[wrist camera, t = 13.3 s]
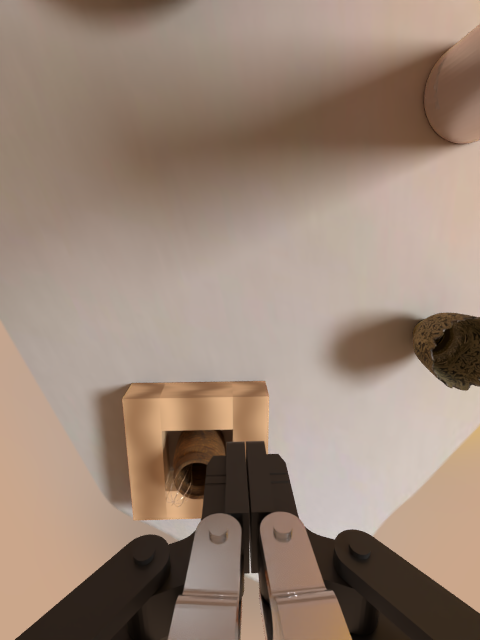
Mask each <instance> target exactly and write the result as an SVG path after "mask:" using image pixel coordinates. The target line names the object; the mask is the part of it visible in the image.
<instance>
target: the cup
mask: <svg viewBox="0 0 480 640" xmlns="http://www.w3.org/2000/svg"><path fill="white" fill-rule="evenodd" d="M412 336H413V348H414V351H415V354H416V355H417V357H418V359H419V360H420V361H421V362H422V364H423V365H424V366H425V367H426V368H427V369H428V370H429V371H430V372H431V373H432V374H433V375H435V376H436V377H437V378H438V379H439V380H440V381H442V382H443V383H444V384H445V385H446V386H448V387H450V388H452V387H455V388H457V389H460V390H468V389H469V388H470V386H471V385H475V386H480V317H474V316H469V315H464V314H458V313H439V314H435V315H432V316H430V317H428V318H426V319H425V320H422V321H420V322H419V323H418V324H417V325H416V326H415V327H414V329H413V333H412Z"/></svg>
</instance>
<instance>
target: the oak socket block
mask: <svg viewBox="0 0 480 640" xmlns="http://www.w3.org/2000/svg"><path fill="white" fill-rule="evenodd" d="M122 403H123V414H124V425H125V435H126V446H127V456H128V467H129V477H130V488H131V498H132V509H133V519H134V520H163V519H196V518H202V508H203V499H190V498H188V499H187V497H185V496H183V495H182V494H181V493H179V492H178V490H177V489H176V487H175V485H173V484H174V482H173V481H174V479H172V478H173V472H174V468H173V460H174V454H175V450H176V445H177V442H178V439H179V436H180V434H181V432H182V431H184V430H220V431H221V432H222V434H223V436H224V439H225V447H226V444H227V442H241V441H245V455H246V441H264V443H265V449H266V454H268V421H269V394H268V390H267V386H266V383H265V381H240V382H178V383H132V384H131V386H130V387H129V389H128V390H127V392H126V394H125V395H124V397H123V398H122ZM171 479H172V480H171ZM170 480H171V481H170ZM169 482H170V483H169ZM172 483H173V484H172ZM168 484H169V485H168ZM167 486H168V487H167ZM171 486H172V488H171ZM166 488H167V490H166ZM170 489H171V490H170ZM169 491H170V492H169ZM177 492H178V494H177ZM168 493H169V494H168ZM166 494H167V495H168V496H166ZM176 494H177V496H176ZM171 495H172V498H171ZM175 496H176V498H175ZM166 497H168V498H169V499H170V500H171V501H170V500H169V499H168V498H167V499H166ZM181 497H182V498H181ZM184 497H185V498H184ZM174 498H175V500H174ZM180 498H181V499H180ZM172 499H173V501H175V503H173V502H172ZM178 499H179V500H178ZM183 499H184V501H183ZM166 500H167V501H166ZM177 500H178V501H177ZM186 500H187V501H186ZM185 501H186V502H185ZM168 502H172V503H173V505H172V503H168ZM182 502H184V503H182ZM177 503H182V504H177ZM174 504H175V505H176V506H180V505H181V506H180V507H176V506H175V505H174ZM171 505H172V506H171Z"/></svg>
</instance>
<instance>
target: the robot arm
mask: <svg viewBox="0 0 480 640" xmlns="http://www.w3.org/2000/svg"><path fill="white" fill-rule="evenodd" d="M424 106H425V112H426V115H427V118H428V121H429V123H430V125H431V126H432V128H433V129H434V131H435V132H436V133H437V134H439V135H440V136H441V137H442V138H444V139H446V140H448V141H450V142H454V143H471V142H475V141H478V140H480V24H479V25H478V26H477V27H476V28H475V29H473V30H472V31H471V32H470V33H468V34H467V35H466V36H465V37H464V38H462V39H461V40H460V41H459V42H458V43H456V44H455V45H454V46H453V47H451V48H450V49H449V50H448V51H447V52H445V53H444V54H443V55H442V57H441V58H440V59H439V60H438V61H437V62H436V64H435V66H434V67H433V69H432V70H431V73H430V75H429V78H428V80H427V83H426V88H425V93H424ZM249 541H250V557H251V573H258V574H259V600H260V608H261V615H262V621H263V627H264V634H265V640H480V613H478V612H477V611H475V610H474V609H472V608H471V607H470V606H468V605H467V604H466V603H464V602H463V601H461V600H460V599H459V598H457V597H456V596H455V595H453V594H452V593H450V592H449V591H447V590H446V589H445V588H443V587H442V586H441V585H439V584H438V583H436V582H435V581H434V580H432V579H431V578H430V577H428V576H427V575H425V574H424V573H423V572H421V571H420V570H418V569H417V568H416V567H414V566H413V565H411V564H410V563H409V562H407V561H406V560H404V559H403V558H402V557H400V556H399V555H397V554H396V553H395V552H393V551H392V550H391V549H389V548H388V547H386V546H385V545H383V544H382V543H381V542H379V541H378V540H377V539H375V538H374V537H372V536H371V535H369V534H367V533H365V532H363V531H359V530H346V531H343V532H341V533H340V534H338V536H337V537H336V539H335V540H334V539H330V538H326V537H323V536H320V535H317V534H315V533H313V532H311V531H310V530H308V529H307V528H306V527H305V526H304V524H303V523H302V521H301V520H300V519H299V517H298V513H297V509H296V505H295V501H294V496H293V492H292V488H291V484H290V479H289V475H288V471H287V467H286V463H285V461H284V460H283V459H282V458H281V457H280V456H279V454H266V449H265V443H264V441H246V455H245V441H241V442H227V444H226V455H219V456H213V457H212V458H211V460H210V461H209V462H208V464H207V469H206V479H205V488H204V498H203V508H202V518H201V522H200V523H199V524H198V526H197V528H196V530H195V532H194V533H192V534H191V535H190V536H189V537H187V538H185V539H183V540H180V541H178V542H175V543H172V544H169V545H168V543H167V542H166V540H165V539H163V538H162V537H160V536H157V535H144V536H140V537H138V538H136V539H134V540H133V541H131V542H130V543H129V544H127V545H126V546H125V547H124V548H123V549H121V550H120V551H119V552H118V553H117V554H116V555H114V556H113V557H112V558H111V559H110V560H108V561H107V562H106V563H105V564H104V565H103V566H101V567H100V568H99V569H98V570H97V571H95V572H94V573H93V574H92V575H91V576H90V577H88V578H87V579H86V580H85V581H84V582H83V583H81V584H80V585H79V586H78V587H77V588H75V589H74V590H73V591H72V592H71V593H69V594H68V595H67V596H66V597H65V598H64V599H63V600H61V601H60V602H59V603H58V604H56V605H55V606H54V607H53V608H52V609H51V610H50V611H48V612H47V613H46V614H45V615H44V616H42V617H41V618H40V619H39V620H38V621H37V622H35V623H34V624H33V625H32V626H31V627H29V628H28V629H27V630H26V631H25V632H23V633H22V634H21V635H20V636H19V637H17V638H16V639H15V640H241V616H242V596H243V593H244V573H249Z"/></svg>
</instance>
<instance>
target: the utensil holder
mask: <svg viewBox="0 0 480 640" xmlns="http://www.w3.org/2000/svg"><path fill="white" fill-rule="evenodd" d="M219 455H226V447H225V439H224V436H223V434H222V432H221V431H220V430H184V431H182V432H181V434H180V436H179V439H178V442H177V445H176V450H175V454H174V460H173V468H174V472H173V478H172V479H174V481H173V482H174V484H173V483H172V484H173V485H175V487H176V489H177V490H178V492H179V493H181V494H182V495H183V496H185V497H187V499H188V498H190V499H203V498H204V488H205V479H206V469H207V464H208V462H209V461H210V460H211V458H212V457H213V456H219ZM172 479H171V480H172ZM171 480H170V481H171ZM169 483H170V482H169ZM168 485H169V484H168ZM167 487H168V486H167ZM171 488H172V486H171ZM166 490H167V488H166ZM170 490H171V489H170ZM169 492H170V491H169ZM178 492H177V494H178ZM168 494H169V493H168ZM177 494H176V496H177ZM166 496H168V495H167V494H166ZM176 496H175V498H176ZM185 497H184V498H185ZM167 498H168V497H166V499H167ZM171 498H172V495H171ZM175 498H174V500H175ZM181 498H182V497H181ZM181 498H180V499H181ZM168 499H169V498H168ZM169 500H170V499H169ZM178 500H179V499H178ZM178 500H177V501H178ZM166 501H167V500H166ZM170 501H171V500H170ZM183 501H184V499H183ZM186 501H187V500H186ZM186 501H185V502H186ZM172 502H173V503H175V501H173V499H172ZM172 502H168V503H172ZM173 503H172V505H173ZM182 503H184V502H182ZM182 503H177V504H182ZM172 505H171V506H172ZM174 505H175V504H174ZM175 506H176V505H175ZM180 506H181V505H180ZM180 506H176V507H180Z"/></svg>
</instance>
